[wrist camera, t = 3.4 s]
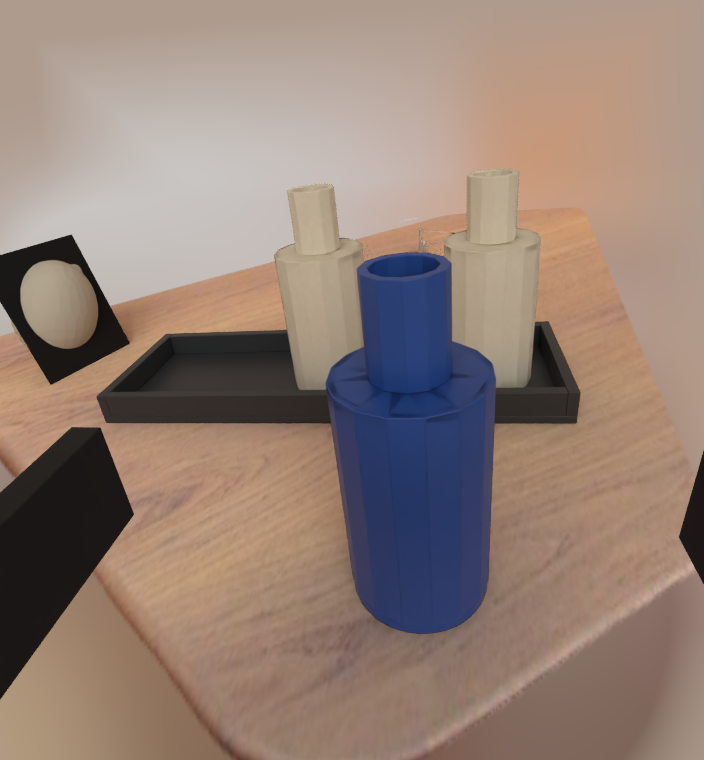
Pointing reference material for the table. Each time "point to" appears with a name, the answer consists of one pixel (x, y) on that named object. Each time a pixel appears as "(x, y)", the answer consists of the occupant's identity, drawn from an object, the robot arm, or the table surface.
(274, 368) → the tray
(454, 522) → the blue bottle
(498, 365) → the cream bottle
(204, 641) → the table surface
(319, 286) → the cream bottle mid
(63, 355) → the decorative object
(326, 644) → the table surface
